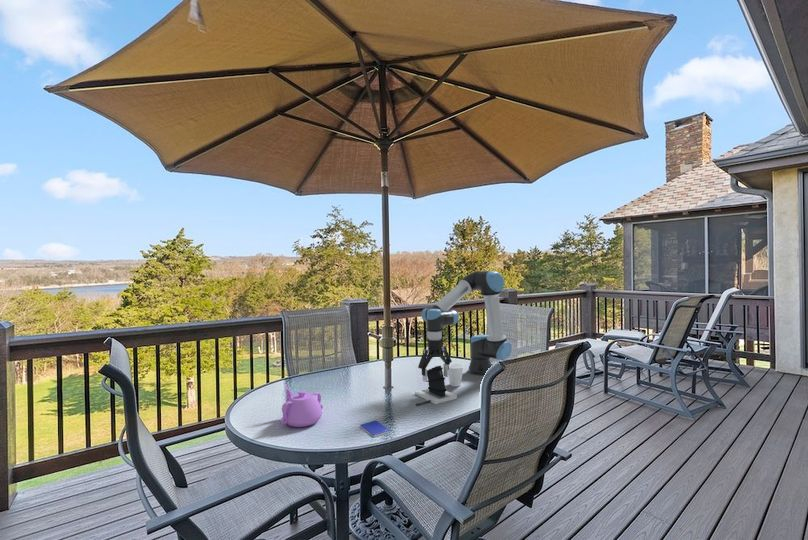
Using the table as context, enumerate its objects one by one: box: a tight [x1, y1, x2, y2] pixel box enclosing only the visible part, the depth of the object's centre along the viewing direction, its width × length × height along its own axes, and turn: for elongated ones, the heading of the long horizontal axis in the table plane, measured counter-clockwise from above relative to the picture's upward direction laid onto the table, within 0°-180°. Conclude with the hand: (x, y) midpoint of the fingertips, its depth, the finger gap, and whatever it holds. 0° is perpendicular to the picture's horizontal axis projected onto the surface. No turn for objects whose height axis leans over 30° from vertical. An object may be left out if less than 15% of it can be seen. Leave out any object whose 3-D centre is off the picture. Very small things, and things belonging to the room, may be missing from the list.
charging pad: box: [414, 387, 458, 406], centre depth 205 cm, size 23×18×2 cm
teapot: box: [280, 386, 324, 428], centre depth 179 cm, size 22×22×14 cm
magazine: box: [426, 365, 447, 397], centre depth 207 cm, size 4×13×15 cm, turn 32°
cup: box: [447, 363, 465, 387], centre depth 225 cm, size 10×10×11 cm
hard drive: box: [359, 419, 392, 438], centre depth 168 cm, size 2×8×12 cm
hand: (435, 378), depth 207 cm, fingers open, 13 cm apart
